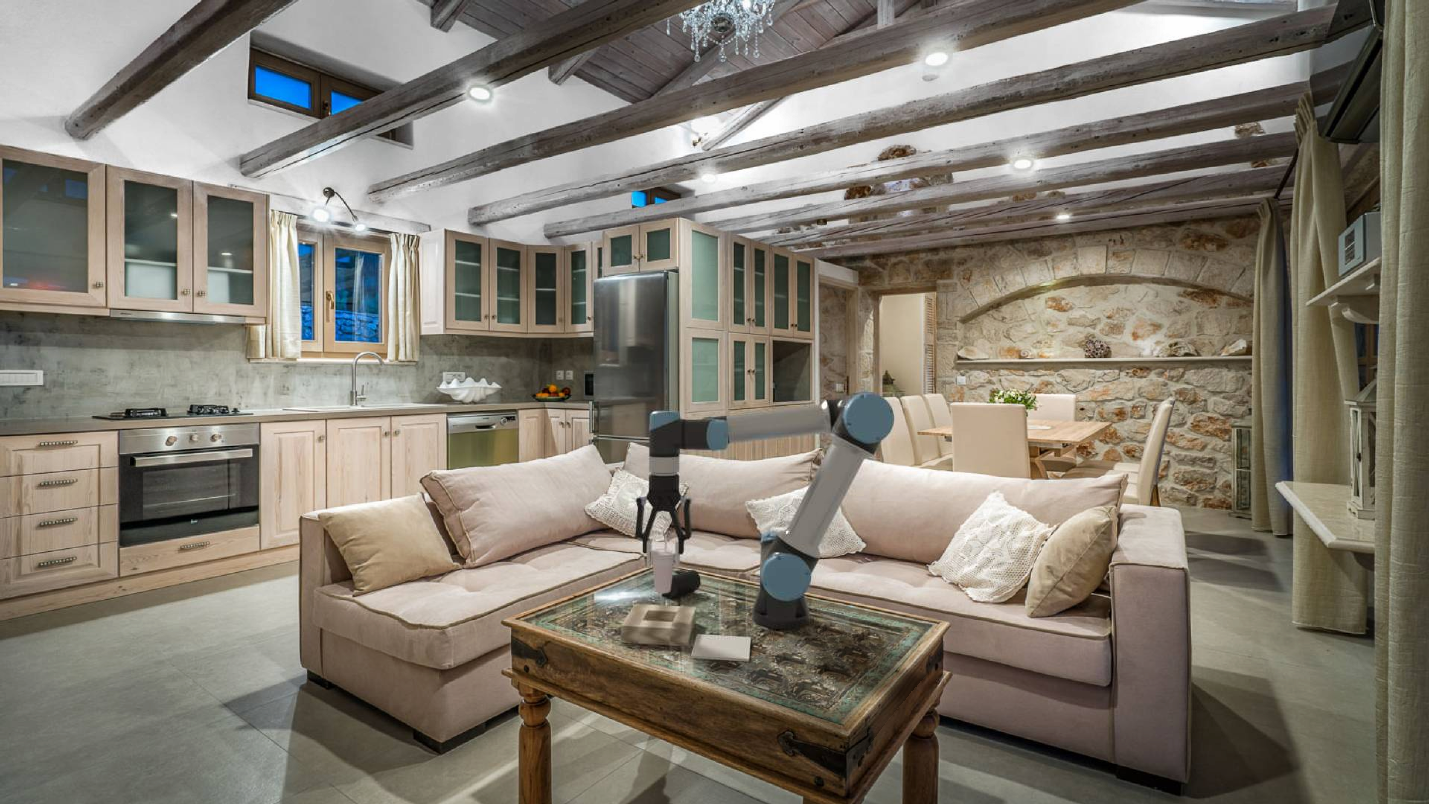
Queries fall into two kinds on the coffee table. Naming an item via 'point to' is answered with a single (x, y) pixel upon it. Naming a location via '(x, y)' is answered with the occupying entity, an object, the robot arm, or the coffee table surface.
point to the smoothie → (663, 568)
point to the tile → (721, 647)
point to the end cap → (683, 584)
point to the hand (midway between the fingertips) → (663, 566)
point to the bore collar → (659, 625)
